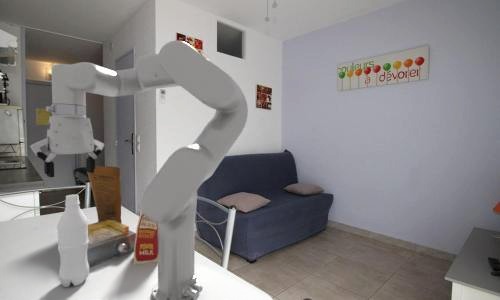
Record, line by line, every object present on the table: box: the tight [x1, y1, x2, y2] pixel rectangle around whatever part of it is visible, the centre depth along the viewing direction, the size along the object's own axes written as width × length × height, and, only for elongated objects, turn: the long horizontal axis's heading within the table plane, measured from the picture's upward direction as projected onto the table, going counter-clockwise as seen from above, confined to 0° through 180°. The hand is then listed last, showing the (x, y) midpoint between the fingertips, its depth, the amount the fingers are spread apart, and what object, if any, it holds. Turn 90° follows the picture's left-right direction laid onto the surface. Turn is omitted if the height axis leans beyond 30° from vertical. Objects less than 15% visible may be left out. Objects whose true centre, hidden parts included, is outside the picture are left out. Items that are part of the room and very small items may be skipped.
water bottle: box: [56, 193, 90, 288], centre depth 74 cm, size 7×7×25 cm
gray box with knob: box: [87, 219, 136, 268], centre depth 92 cm, size 18×18×9 cm
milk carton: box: [133, 199, 158, 265], centre depth 90 cm, size 9×9×20 cm
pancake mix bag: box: [86, 165, 123, 224], centre depth 113 cm, size 7×19×28 cm, turn 63°
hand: (71, 174), depth 73 cm, fingers open, 9 cm apart
